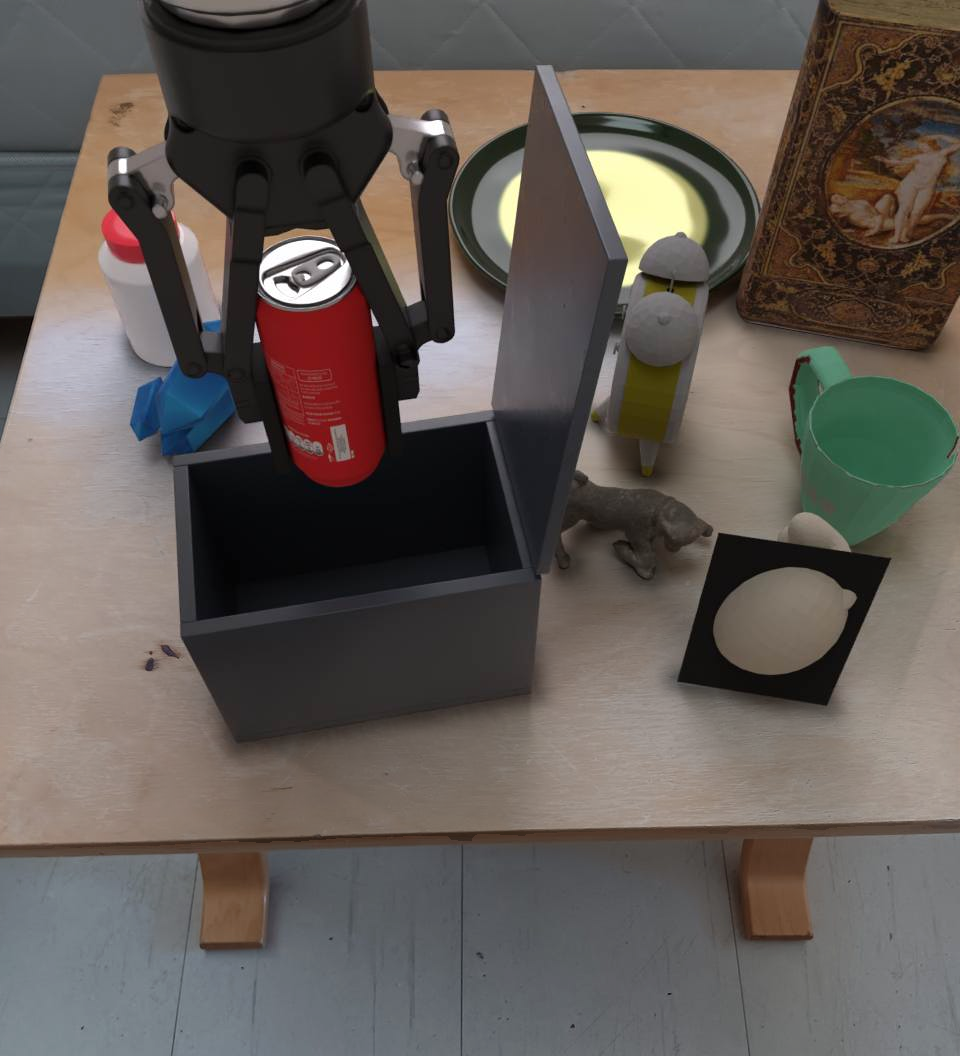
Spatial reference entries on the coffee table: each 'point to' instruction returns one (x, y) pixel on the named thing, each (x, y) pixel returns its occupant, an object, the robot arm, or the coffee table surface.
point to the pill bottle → (148, 288)
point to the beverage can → (321, 360)
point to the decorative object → (781, 612)
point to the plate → (617, 195)
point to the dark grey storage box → (356, 582)
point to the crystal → (182, 407)
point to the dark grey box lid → (553, 315)
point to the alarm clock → (658, 346)
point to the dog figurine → (631, 521)
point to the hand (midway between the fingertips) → (338, 445)
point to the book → (865, 180)
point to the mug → (865, 444)
